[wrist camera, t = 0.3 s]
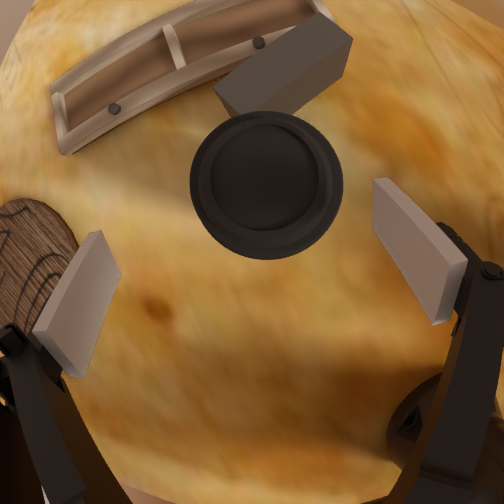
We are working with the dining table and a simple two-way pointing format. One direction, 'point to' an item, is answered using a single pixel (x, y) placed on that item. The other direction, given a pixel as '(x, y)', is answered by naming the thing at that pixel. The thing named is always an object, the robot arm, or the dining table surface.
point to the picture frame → (288, 69)
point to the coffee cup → (266, 184)
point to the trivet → (31, 258)
